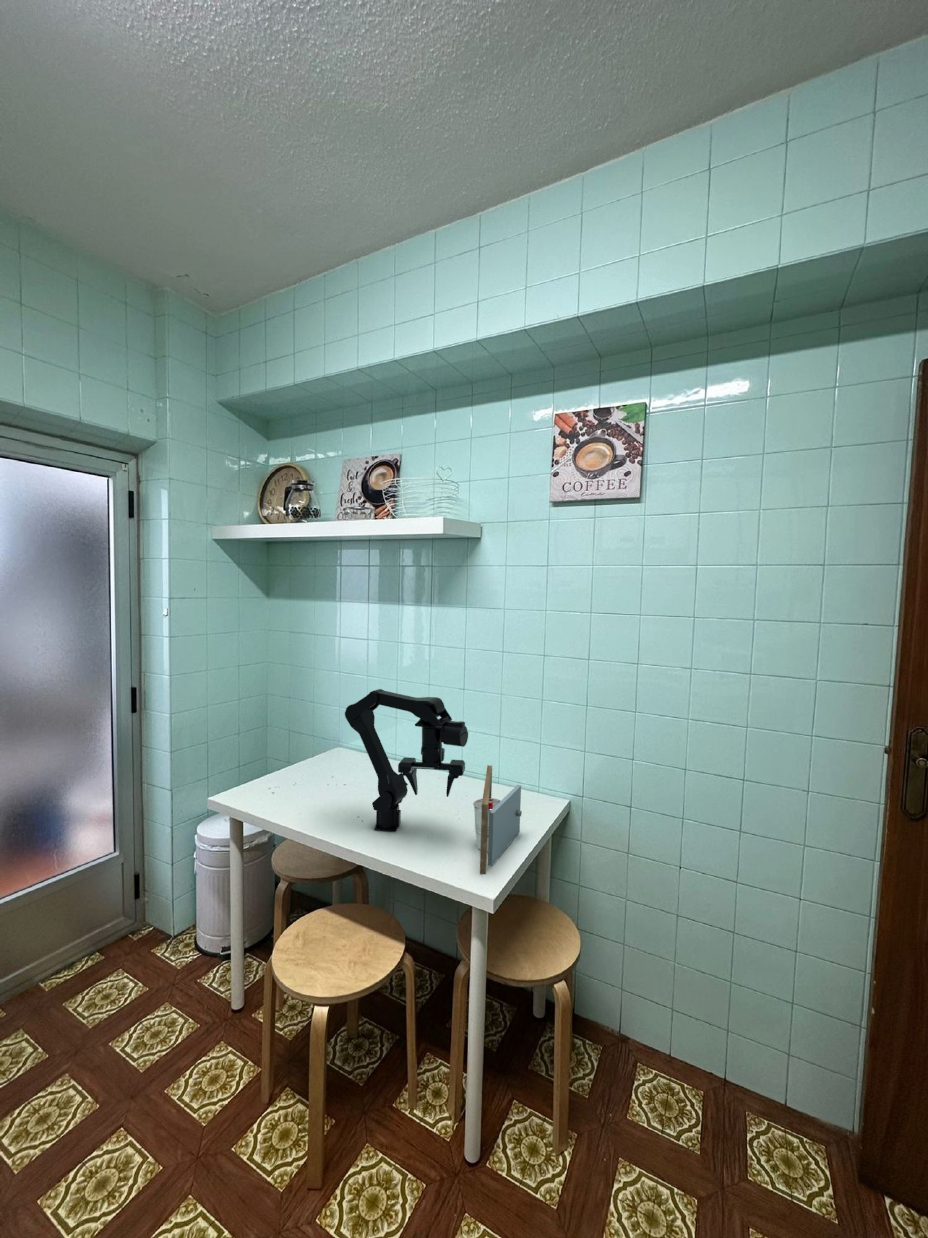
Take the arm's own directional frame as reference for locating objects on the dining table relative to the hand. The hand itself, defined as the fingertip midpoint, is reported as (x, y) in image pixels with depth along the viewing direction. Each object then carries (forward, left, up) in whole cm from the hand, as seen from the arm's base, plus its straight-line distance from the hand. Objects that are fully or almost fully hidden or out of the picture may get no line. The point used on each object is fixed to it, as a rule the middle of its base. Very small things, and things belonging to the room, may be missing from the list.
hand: (431, 795), depth 147 cm
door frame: (+16, -3, -12) cm, 20 cm away
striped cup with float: (+17, -4, -12) cm, 21 cm away
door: (+22, -4, -12) cm, 25 cm away
